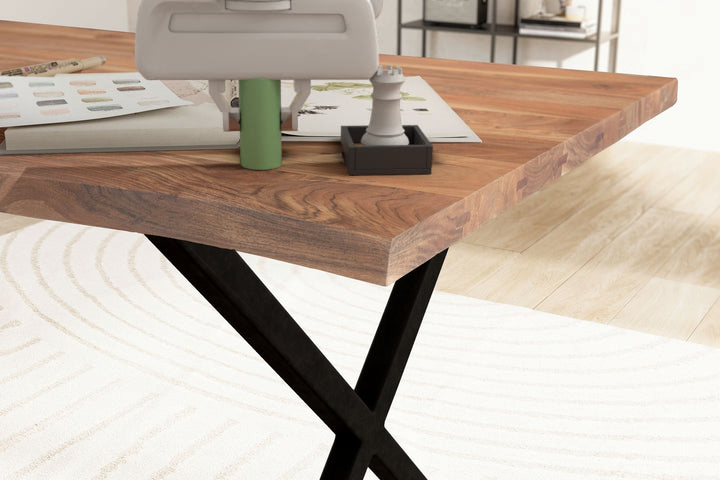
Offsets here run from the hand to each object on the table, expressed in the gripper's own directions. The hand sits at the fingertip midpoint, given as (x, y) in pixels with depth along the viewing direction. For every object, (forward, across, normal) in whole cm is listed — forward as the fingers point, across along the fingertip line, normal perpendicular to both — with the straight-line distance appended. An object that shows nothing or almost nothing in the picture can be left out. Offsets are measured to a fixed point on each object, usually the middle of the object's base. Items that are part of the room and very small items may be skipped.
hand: (260, 129), depth 77 cm
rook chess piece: (+3, -11, 0) cm, 11 cm away
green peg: (+3, 0, 0) cm, 3 cm away
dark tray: (+3, -11, 0) cm, 11 cm away
